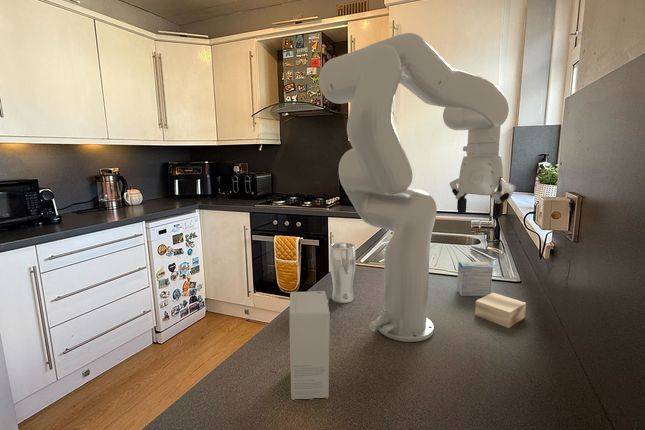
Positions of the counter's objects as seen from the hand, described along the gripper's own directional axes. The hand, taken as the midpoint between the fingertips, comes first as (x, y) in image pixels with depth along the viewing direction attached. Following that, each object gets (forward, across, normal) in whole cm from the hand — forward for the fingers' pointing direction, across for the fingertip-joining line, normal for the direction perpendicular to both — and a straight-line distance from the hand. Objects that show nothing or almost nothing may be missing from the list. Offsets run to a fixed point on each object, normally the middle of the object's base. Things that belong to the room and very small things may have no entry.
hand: (478, 215), depth 93 cm
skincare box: (+22, +2, -58) cm, 62 cm away
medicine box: (+22, 0, 0) cm, 22 cm away
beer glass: (+22, -21, -30) cm, 43 cm away
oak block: (+22, +11, -8) cm, 26 cm away
